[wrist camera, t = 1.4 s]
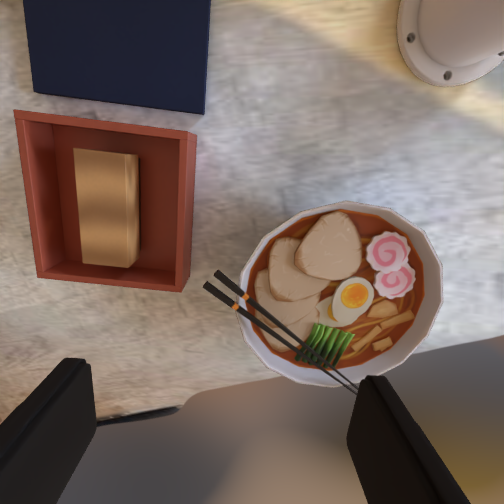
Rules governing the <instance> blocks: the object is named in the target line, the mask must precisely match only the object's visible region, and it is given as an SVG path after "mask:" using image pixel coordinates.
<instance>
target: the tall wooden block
mask: <svg viewBox="0 0 504 504" xmlns="http://www.w3.org/2000/svg"><path fill="white" fill-rule="evenodd" d="M73 153H74V165H75V177H76V189H77V201H78V213H79V225H80V237H81V249H82V261H83V263H86V264H96V265H105V266H115V267H124V268H129V267H130V266H131V265H132V264H133V263H134V262H135V261H136V260H138V259H139V258H140V251H141V180H140V158H138V155H137V154H129V153H121V152H113V151H105V150H97V149H84V148H73Z"/></svg>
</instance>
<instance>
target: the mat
mask: <svg viewBox="0 0 504 504" xmlns="http://www.w3.org/2000/svg"><path fill="white" fill-rule="evenodd" d="M23 5H24V13H25V22H26V30H27V39H28V47H29V56H30V64H31V72H32V81H33V89H34V92H36V93H40V94H48V95H56V96H64V97H71V98H79V99H87V100H94V101H102V102H110V103H117V104H125V105H133V106H141V107H148V108H156V109H164V110H171V111H179V112H187V113H195V114H202V115H204V112H205V94H206V77H207V59H208V41H209V24H210V6H211V0H23Z"/></svg>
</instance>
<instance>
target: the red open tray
mask: <svg viewBox="0 0 504 504" xmlns="http://www.w3.org/2000/svg"><path fill="white" fill-rule="evenodd" d="M13 111H14V118H15V124H16V131H17V138H18V145H19V152H20V159H21V166H22V173H23V180H24V187H25V194H26V201H27V208H28V215H29V222H30V229H31V236H32V243H33V250H34V257H35V264H36V271H37V278H45V279H55V280H64V281H74V282H84V283H93V284H103V285H113V286H123V287H132V288H142V289H152V290H162V291H171V292H182V291H183V289H184V287H185V285H186V283H187V281H188V279H189V277H190V265H191V245H192V225H193V205H194V185H195V165H196V145H197V135H195V134H192V133H190V132H188V131H180V130H172V129H164V128H156V127H148V126H140V125H133V124H125V123H117V122H109V121H101V120H93V119H85V118H77V117H69V116H62V115H54V114H46V113H38V112H30V111H22V110H13ZM73 148H84V149H97V150H105V151H113V152H121V153H129V154H137V155H138V158H140V180H141V251H140V258H139V259H138V260H136V261H135V262H134V263H133V264H132V265H131V266H130V267H129V268H124V267H115V266H105V265H96V264H86V263H83V261H82V249H81V237H80V225H79V213H78V201H77V189H76V177H75V165H74V153H73Z"/></svg>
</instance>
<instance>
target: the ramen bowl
mask: <svg viewBox="0 0 504 504" xmlns="http://www.w3.org/2000/svg"><path fill="white" fill-rule="evenodd" d="M214 277H216V278H217V279H218V280H220V281H221V282H222V283H223V284H225V285H226V286H227V287H228V288H230V289H231V290H232V291H233V292H235V293H236V294H237V297H236V302H235V301H233V300H232V299H231V298H229V297H228V296H227V295H225V294H224V293H223V292H221V291H220V290H218V289H217V288H216V287H214V286H213V285H212V284H210V283H209V282H208V281H207V282H206V283H205V284H204V285H203V288H204V289H205V290H207V291H208V292H210V293H211V294H213V295H214V296H215V297H217V298H218V299H220V300H221V301H223V302H224V303H225V304H227V305H228V306H230V307H231V308H233V309H235V312H236V315H237V319H238V322H239V325H240V329H241V332H242V335H243V339H244V342H245V343H246V344H247V345H248V347H249V348H250V349H251V350H252V351H253V352H254V354H255V355H256V356H257V357H258V358H259V359H260V361H261V362H262V363H263V364H264V365H265V367H266V368H268V369H270V370H272V371H274V372H276V373H278V374H280V375H282V376H284V377H286V378H289V379H290V380H292V381H295V382H297V383H302V384H310V385H317V386H325V387H332V388H333V387H339V386H344V387H346V388H347V389H349V390H350V391H352V392H353V393H355V394H356V395H357V393H356V392H355V391H354V390H352V389H351V388H349V387H348V386H347V385H349V384H351V385H352V386H354V387H355V388H356V389H357V390H358V389H359V388H358V387H357V386H356V385H354V383H359V382H361V380H362V379H365V377H366V376H367V375H377V376H379V375H380V374H383V373H385V372H386V371H388V370H390V369H392V368H394V367H396V366H398V365H400V364H402V363H403V362H404V361H405V360H406V359H407V358H408V357H409V356H410V355H411V354H412V353H413V352H414V351H415V350H416V348H417V347H418V346H419V345H420V344H421V343H422V342H423V341H424V340H425V339H426V338H427V337H428V336H429V333H430V331H431V329H432V327H433V324H434V322H435V320H436V317H437V315H438V313H439V311H440V308H441V306H442V304H443V270H442V263H441V261H440V259H439V258H438V256H437V254H436V252H435V250H434V248H433V246H432V244H431V242H430V240H429V238H428V237H427V235H426V233H425V231H424V230H422V229H421V228H419V227H418V226H416V225H415V224H413V223H412V222H410V221H409V220H407V219H406V218H404V217H403V216H401V215H400V214H398V213H397V212H395V211H394V210H392V209H391V208H387V207H381V206H375V205H369V204H363V203H358V202H352V201H342V202H338V203H334V204H330V205H325V206H321V207H317V208H313V209H309V210H305V211H301V212H299V213H298V214H296V215H295V216H293V217H292V218H290V219H289V220H287V221H286V222H284V223H283V224H282V225H280V226H279V227H277V228H276V229H274V230H273V231H271V232H270V233H268V234H267V235H265V236H264V237H263V238H262V240H261V241H260V243H259V244H258V246H257V247H256V249H255V251H254V252H253V254H252V255H251V257H250V258H249V260H248V261H247V263H246V265H245V266H244V268H243V269H242V271H241V274H240V279H239V285H238V286H237V285H236V284H235V283H234V282H232V281H231V280H230V279H229V278H228V277H227V276H225V275H224V274H223V273H222V272H221V271H219V270H217V271H216V272H215V273H214Z"/></svg>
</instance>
